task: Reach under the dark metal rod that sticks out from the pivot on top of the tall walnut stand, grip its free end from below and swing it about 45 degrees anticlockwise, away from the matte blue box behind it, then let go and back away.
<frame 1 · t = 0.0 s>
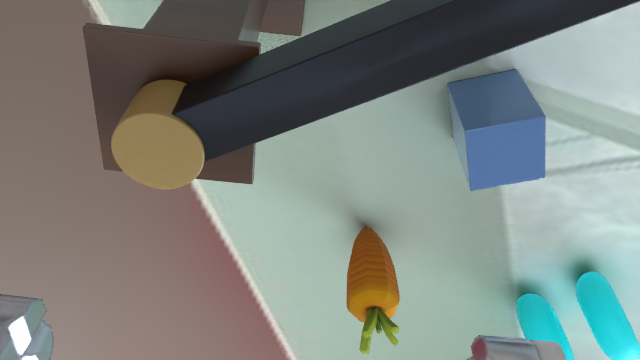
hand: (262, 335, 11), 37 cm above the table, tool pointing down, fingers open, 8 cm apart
rod: (349, 62, 21), point 25 cm above the table, hinge at 0.0°
carrot: (366, 227, 59), on the table
matte blue box: (483, 105, 50), on the table
cyan rounded twin part: (559, 291, 65), on the table
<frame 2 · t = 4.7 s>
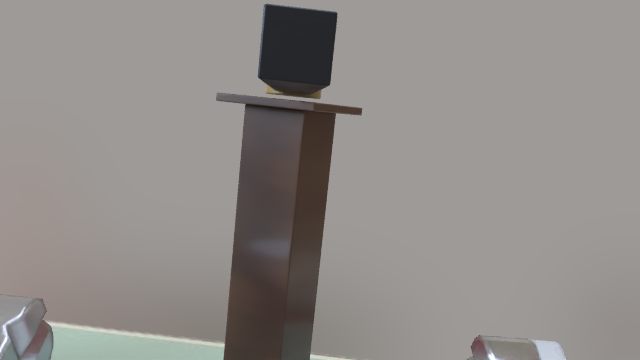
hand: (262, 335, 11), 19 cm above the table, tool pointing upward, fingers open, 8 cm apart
rod: (295, 65, 28), point 25 cm above the table, hinge at 0.0°
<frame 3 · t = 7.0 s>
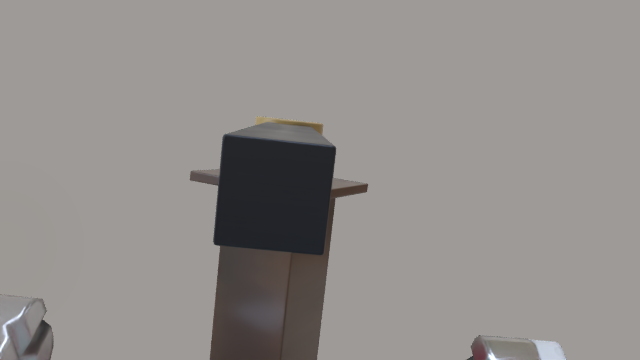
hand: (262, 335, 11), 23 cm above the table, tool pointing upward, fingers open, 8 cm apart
rod: (284, 158, 22), point 25 cm above the table, hinge at 0.0°
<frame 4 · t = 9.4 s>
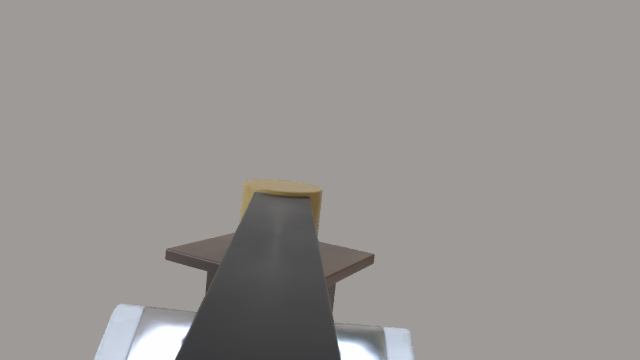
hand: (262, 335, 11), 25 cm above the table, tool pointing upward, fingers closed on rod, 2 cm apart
rod: (274, 263, 17), point 25 cm above the table, hinge at 0.2°, touching gripper
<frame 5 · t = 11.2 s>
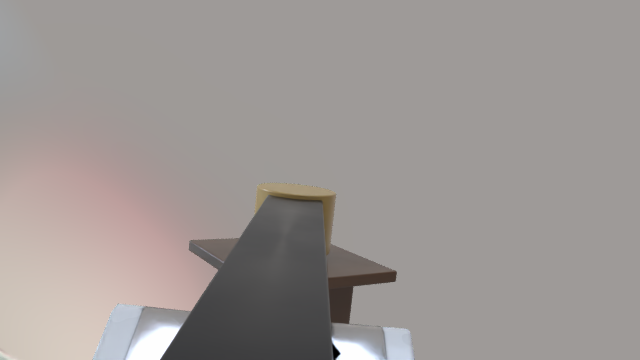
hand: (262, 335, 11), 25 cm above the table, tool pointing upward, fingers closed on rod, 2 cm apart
rod: (282, 265, 17), point 25 cm above the table, hinge at 25.5°, touching gripper
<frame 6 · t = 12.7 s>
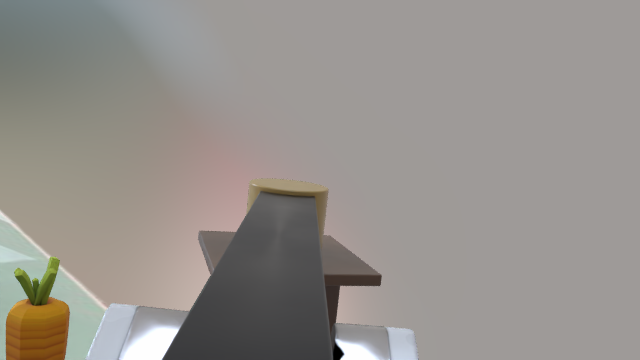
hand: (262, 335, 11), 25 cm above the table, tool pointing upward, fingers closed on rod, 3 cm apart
rod: (276, 262, 17), point 25 cm above the table, hinge at 44.2°, touching gripper
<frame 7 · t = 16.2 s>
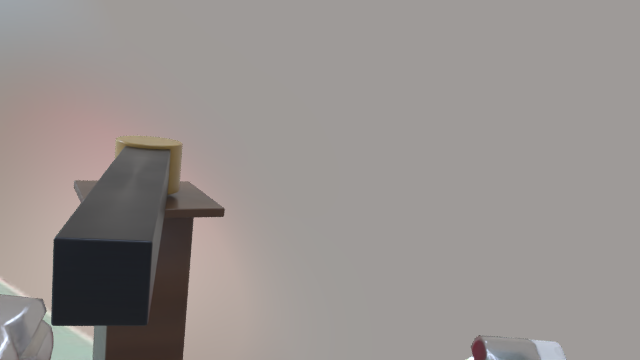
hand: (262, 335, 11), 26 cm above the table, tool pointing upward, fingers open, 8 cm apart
rod: (135, 197, 24), point 25 cm above the table, hinge at 44.2°
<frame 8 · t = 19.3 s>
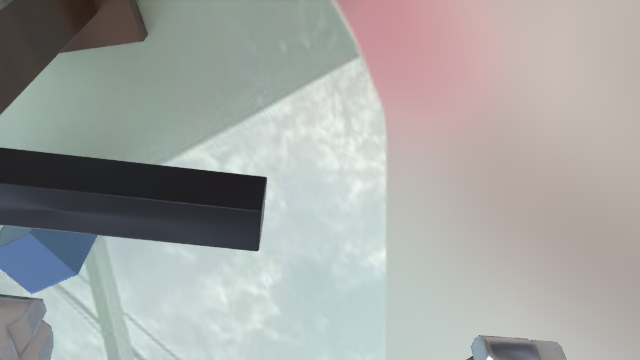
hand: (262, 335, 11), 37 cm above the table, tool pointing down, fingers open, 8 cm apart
rod: (35, 189, 24), point 25 cm above the table, hinge at 44.2°
matte blue box: (64, 209, 57), on the table
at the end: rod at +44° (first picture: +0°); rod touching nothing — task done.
